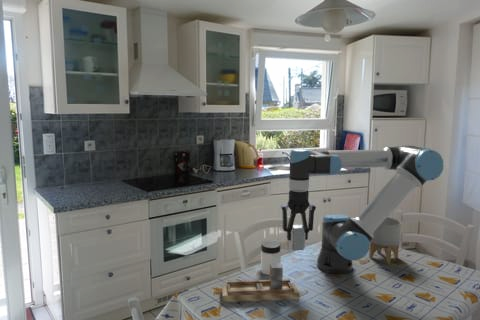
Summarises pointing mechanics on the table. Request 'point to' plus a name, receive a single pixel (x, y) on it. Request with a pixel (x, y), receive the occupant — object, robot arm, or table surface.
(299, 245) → the grey rectangular prism
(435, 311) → the table surface
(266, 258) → the jar
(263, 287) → the light wooden long frame
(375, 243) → the planter
